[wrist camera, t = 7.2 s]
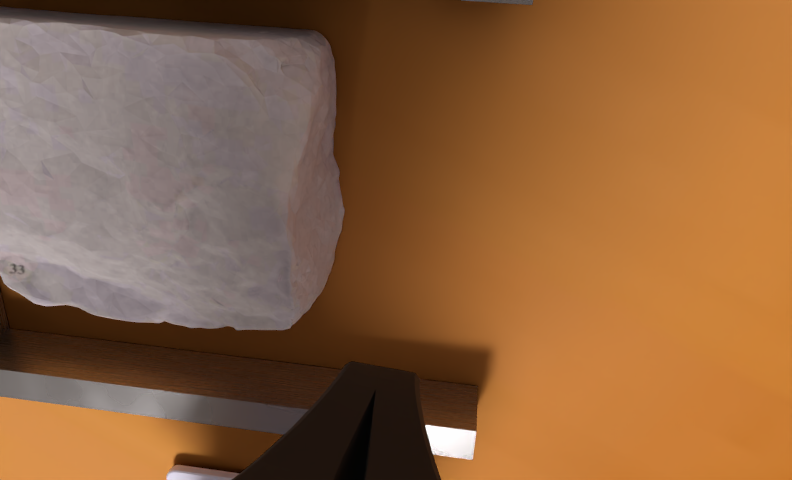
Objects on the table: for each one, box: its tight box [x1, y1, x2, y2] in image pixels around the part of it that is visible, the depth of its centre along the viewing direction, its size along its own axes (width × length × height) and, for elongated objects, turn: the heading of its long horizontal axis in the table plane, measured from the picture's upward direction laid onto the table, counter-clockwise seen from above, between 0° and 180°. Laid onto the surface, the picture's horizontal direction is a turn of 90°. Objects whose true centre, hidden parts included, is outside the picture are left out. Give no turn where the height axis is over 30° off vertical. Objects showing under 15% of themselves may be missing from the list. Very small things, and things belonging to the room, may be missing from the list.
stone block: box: [0, 7, 345, 330], centre depth 20 cm, size 12×5×10 cm
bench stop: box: [0, 0, 533, 460], centre depth 19 cm, size 15×21×4 cm
